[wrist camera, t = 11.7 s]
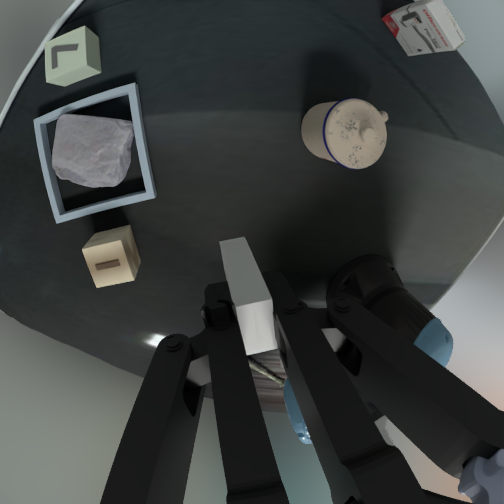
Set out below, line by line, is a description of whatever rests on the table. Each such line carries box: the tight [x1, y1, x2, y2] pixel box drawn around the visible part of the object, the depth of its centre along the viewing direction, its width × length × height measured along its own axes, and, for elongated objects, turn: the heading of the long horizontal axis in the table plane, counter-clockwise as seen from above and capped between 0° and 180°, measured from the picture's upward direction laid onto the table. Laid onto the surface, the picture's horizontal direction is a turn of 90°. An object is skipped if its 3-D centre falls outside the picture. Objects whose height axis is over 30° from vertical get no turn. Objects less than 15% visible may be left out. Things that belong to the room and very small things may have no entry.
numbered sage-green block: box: [45, 26, 101, 86], centre depth 25 cm, size 6×6×6 cm
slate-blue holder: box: [34, 83, 157, 223], centre depth 33 cm, size 16×16×2 cm
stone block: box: [52, 114, 134, 187], centre depth 32 cm, size 12×5×10 cm
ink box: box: [381, 0, 465, 56], centre depth 27 cm, size 9×5×12 cm, turn 43°
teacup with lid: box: [301, 98, 388, 169], centre depth 33 cm, size 12×9×12 cm
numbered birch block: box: [82, 225, 141, 288], centre depth 37 cm, size 6×6×6 cm
